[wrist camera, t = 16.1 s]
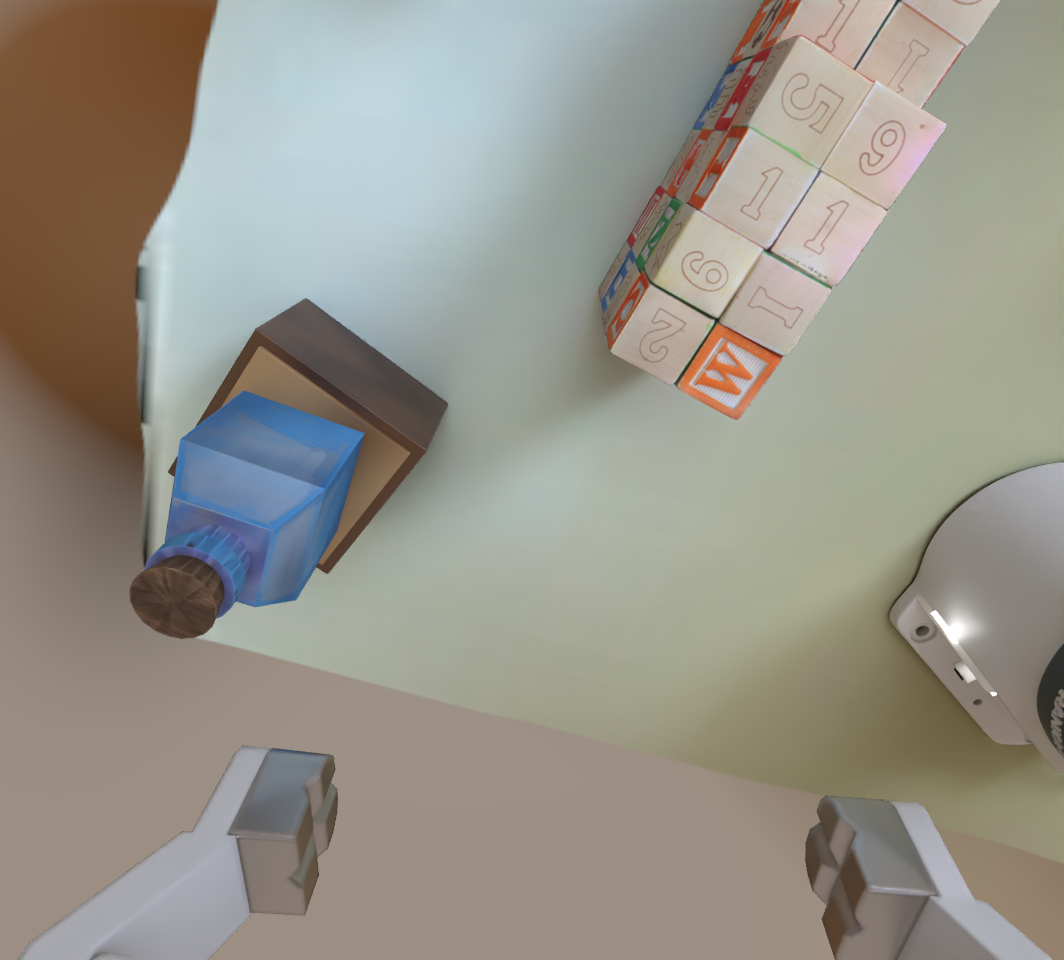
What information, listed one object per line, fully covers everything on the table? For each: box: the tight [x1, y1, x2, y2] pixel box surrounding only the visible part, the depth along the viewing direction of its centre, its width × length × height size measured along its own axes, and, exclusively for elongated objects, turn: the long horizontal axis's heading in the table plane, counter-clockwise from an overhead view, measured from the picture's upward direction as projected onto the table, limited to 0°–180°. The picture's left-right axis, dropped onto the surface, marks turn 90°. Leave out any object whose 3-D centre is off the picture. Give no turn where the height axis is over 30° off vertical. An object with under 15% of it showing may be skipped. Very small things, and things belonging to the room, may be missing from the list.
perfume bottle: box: [130, 391, 365, 639], centre depth 31 cm, size 6×6×12 cm
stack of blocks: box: [599, 0, 1000, 420], centre depth 29 cm, size 21×6×12 cm, turn 152°
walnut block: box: [168, 298, 448, 574], centre depth 39 cm, size 10×10×7 cm
